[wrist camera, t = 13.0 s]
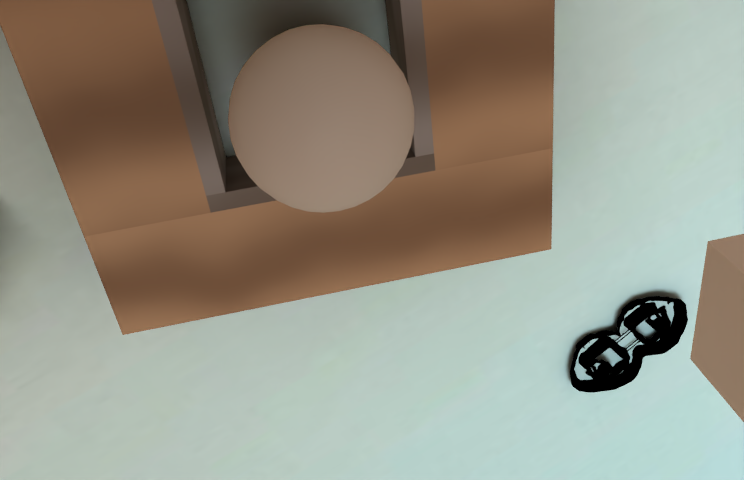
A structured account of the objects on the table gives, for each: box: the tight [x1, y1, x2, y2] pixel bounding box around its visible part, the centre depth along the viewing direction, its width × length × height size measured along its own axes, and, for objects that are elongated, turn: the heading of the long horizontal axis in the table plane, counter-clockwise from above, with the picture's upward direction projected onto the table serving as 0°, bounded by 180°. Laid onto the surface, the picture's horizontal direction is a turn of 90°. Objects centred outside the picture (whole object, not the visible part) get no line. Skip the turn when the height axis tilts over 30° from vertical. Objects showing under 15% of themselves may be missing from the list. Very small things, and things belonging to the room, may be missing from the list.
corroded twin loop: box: [570, 296, 688, 392], centre depth 42 cm, size 5×8×1 cm, turn 136°
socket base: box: [0, 0, 555, 335], centre depth 29 cm, size 20×20×4 cm
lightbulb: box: [228, 24, 414, 213], centre depth 26 cm, size 6×6×11 cm
